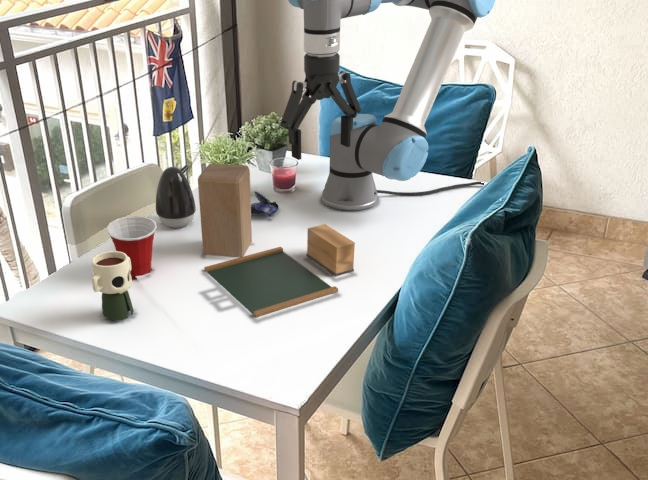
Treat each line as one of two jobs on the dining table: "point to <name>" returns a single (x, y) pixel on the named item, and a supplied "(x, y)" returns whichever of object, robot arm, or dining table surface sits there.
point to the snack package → (263, 206)
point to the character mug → (113, 283)
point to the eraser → (330, 249)
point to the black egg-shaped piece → (175, 198)
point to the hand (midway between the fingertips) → (321, 151)
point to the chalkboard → (269, 281)
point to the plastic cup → (134, 241)
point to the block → (225, 209)
